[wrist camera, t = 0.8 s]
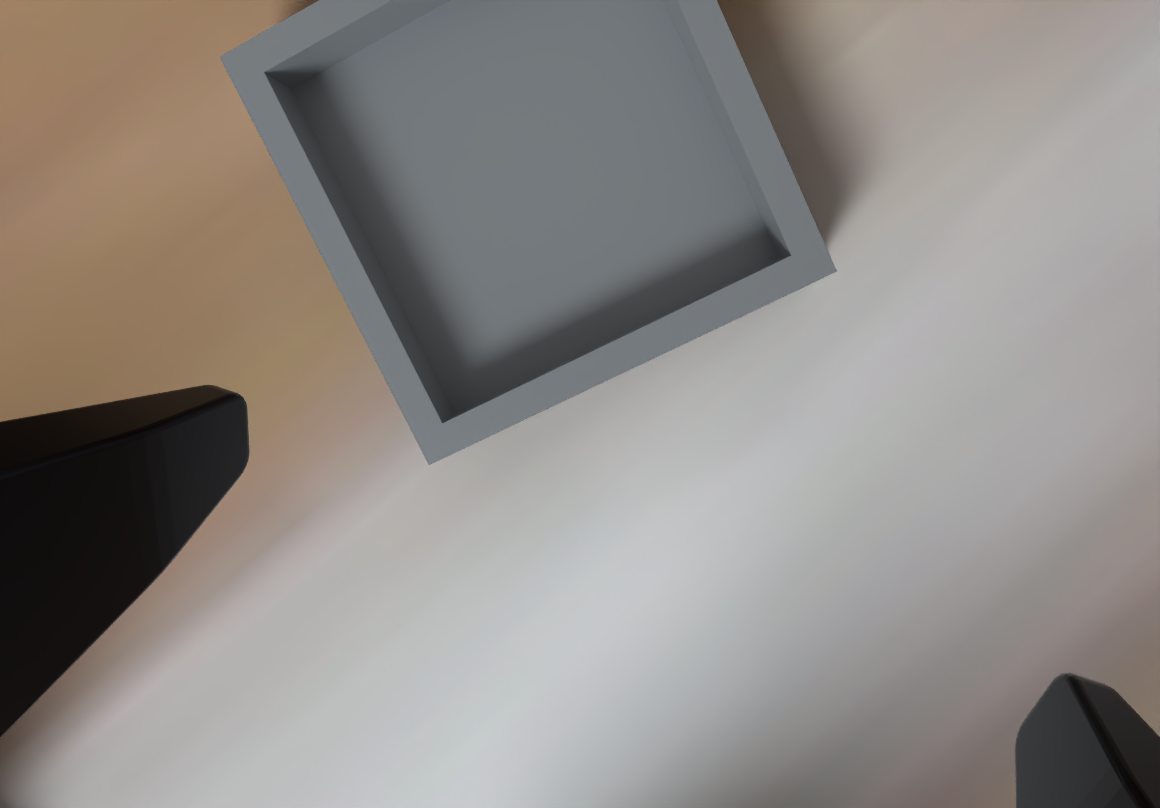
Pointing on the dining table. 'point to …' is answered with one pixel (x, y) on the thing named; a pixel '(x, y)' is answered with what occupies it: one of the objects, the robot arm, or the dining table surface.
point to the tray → (527, 190)
